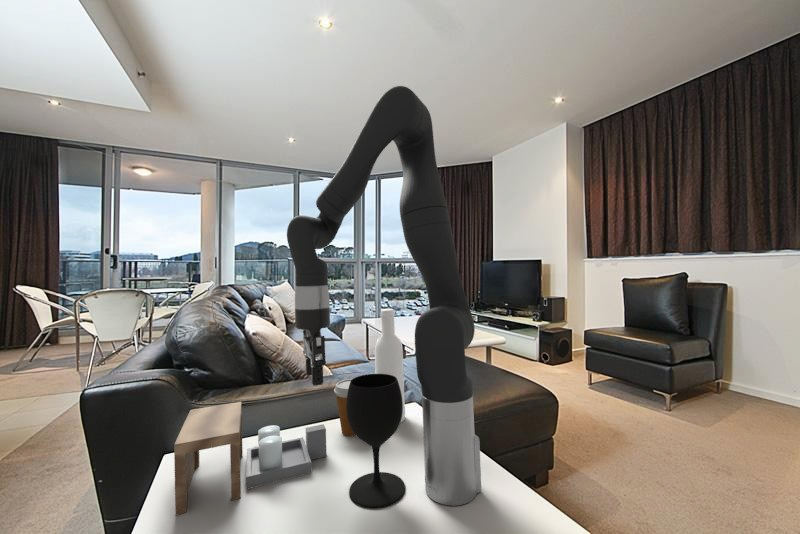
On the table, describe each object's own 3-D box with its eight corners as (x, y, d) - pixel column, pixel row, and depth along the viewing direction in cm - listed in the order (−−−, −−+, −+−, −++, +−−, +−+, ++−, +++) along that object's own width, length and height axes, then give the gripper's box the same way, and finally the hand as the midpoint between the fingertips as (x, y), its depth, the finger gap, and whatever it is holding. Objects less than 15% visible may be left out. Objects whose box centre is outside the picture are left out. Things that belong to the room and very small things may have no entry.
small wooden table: (242, 454, 78) (241, 401, 79) (240, 498, 62) (239, 432, 63) (191, 465, 74) (190, 409, 75) (175, 515, 58) (174, 444, 59)
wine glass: (399, 512, 57) (395, 390, 58) (340, 505, 59) (336, 388, 60) (410, 476, 67) (406, 372, 68) (359, 471, 70) (356, 371, 70)
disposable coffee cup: (349, 443, 82) (347, 392, 82) (328, 431, 89) (326, 383, 89) (380, 430, 88) (378, 382, 88) (358, 419, 95) (357, 375, 96)
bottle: (383, 412, 100) (380, 308, 101) (409, 415, 97) (405, 308, 98) (371, 423, 92) (368, 311, 93) (399, 427, 90) (395, 311, 90)
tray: (320, 444, 82) (319, 414, 83) (331, 469, 71) (330, 434, 72) (247, 460, 76) (246, 428, 76) (246, 490, 65) (245, 452, 65)
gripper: (336, 307, 72) (338, 385, 72) (323, 303, 85) (324, 369, 85) (299, 309, 69) (301, 391, 69) (291, 305, 82) (293, 373, 82)
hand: (314, 379), depth 77 cm, fingers open, 8 cm apart
